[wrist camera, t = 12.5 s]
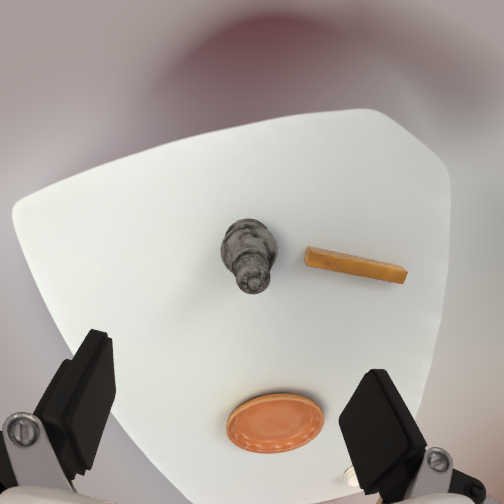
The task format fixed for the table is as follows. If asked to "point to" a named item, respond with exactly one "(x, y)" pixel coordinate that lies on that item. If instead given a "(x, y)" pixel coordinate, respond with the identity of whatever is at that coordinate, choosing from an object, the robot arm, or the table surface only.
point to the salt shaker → (249, 254)
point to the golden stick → (354, 265)
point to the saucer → (275, 423)
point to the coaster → (351, 477)
